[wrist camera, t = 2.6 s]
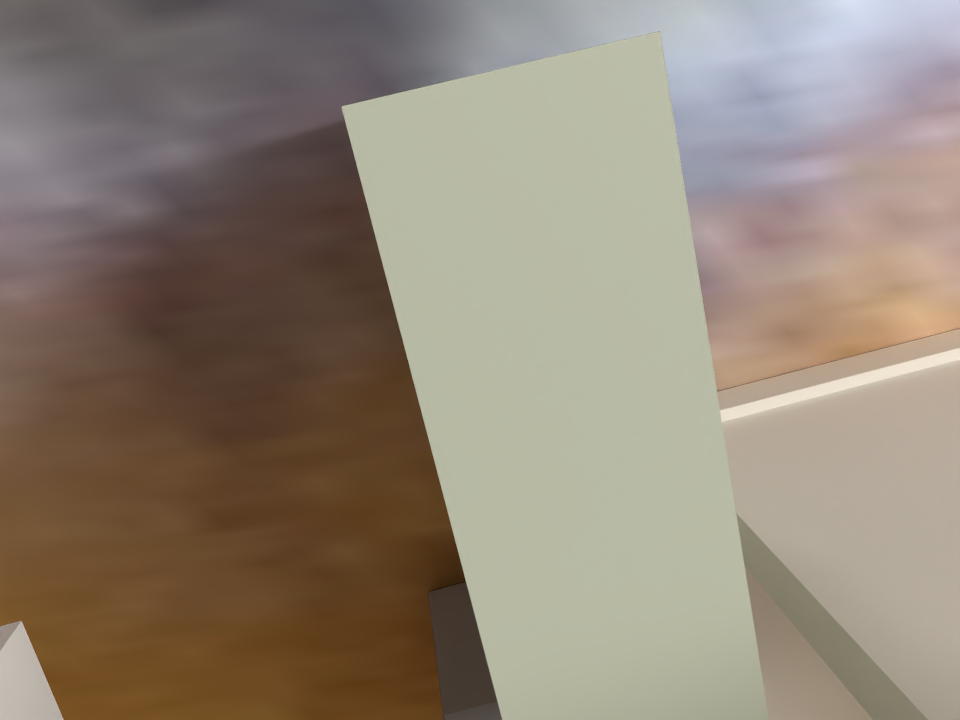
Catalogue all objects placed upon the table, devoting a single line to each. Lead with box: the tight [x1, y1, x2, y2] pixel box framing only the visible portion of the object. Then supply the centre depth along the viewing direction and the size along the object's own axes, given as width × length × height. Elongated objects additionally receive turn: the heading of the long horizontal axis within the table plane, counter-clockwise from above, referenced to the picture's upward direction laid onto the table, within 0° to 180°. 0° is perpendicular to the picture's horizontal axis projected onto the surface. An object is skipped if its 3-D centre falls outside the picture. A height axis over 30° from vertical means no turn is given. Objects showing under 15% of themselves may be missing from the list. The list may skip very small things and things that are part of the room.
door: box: [341, 31, 769, 720], centre depth 16 cm, size 17×5×14 cm, turn 13°
